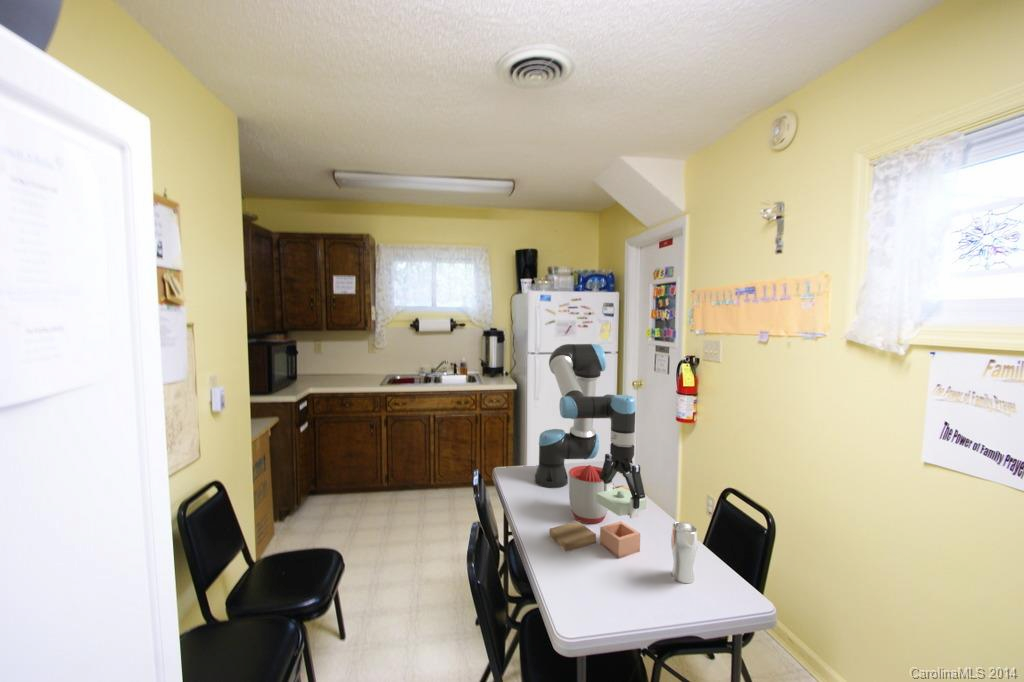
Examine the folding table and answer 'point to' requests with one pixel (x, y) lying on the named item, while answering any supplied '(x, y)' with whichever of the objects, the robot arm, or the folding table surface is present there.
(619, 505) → the lid
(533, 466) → the folding table surface
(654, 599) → the folding table surface
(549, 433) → the robot arm
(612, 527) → the open box
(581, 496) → the citrus juicer
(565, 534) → the wooden block
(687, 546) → the beer glass
